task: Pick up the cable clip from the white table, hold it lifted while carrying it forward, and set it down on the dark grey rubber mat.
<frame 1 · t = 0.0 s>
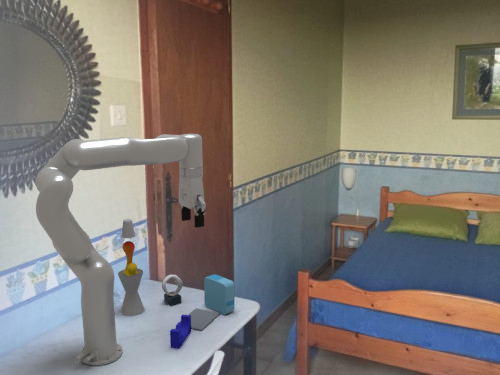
hand: (192, 223, 166), 37 cm above the table, tool pointing down, fingers open, 9 cm apart
cable clip: (179, 340, 166), on the table
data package: (219, 309, 188), on the table
lava lamp: (132, 311, 187), on the table
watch: (172, 302, 194), on the table
mat: (198, 320, 179), on the table
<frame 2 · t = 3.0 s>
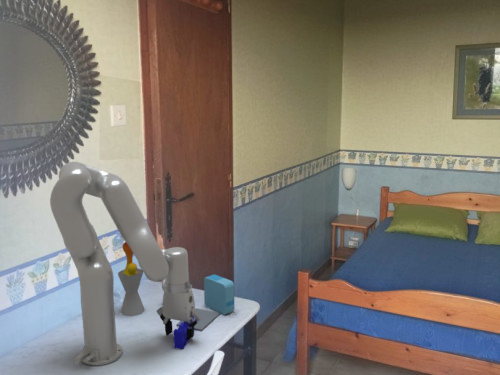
hand: (179, 335, 166), 1 cm above the table, tool pointing down, fingers open, 7 cm apart
cable clip: (182, 340, 166), on the table, touching gripper
everything else where it was.
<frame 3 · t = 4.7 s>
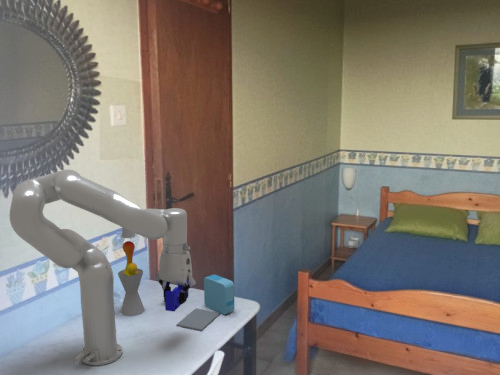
hand: (175, 300, 163), 14 cm above the table, tool pointing down, fingers closed on cable clip, 5 cm apart
cable clip: (175, 303, 163), point 13 cm above the table, touching gripper
everything else where it was.
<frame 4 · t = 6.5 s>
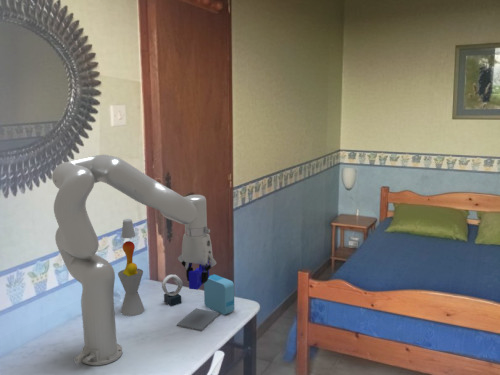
hand: (197, 280, 176), 15 cm above the table, tool pointing down, fingers closed on cable clip, 5 cm apart
cable clip: (197, 283, 176), point 14 cm above the table, touching gripper
everything else where it was.
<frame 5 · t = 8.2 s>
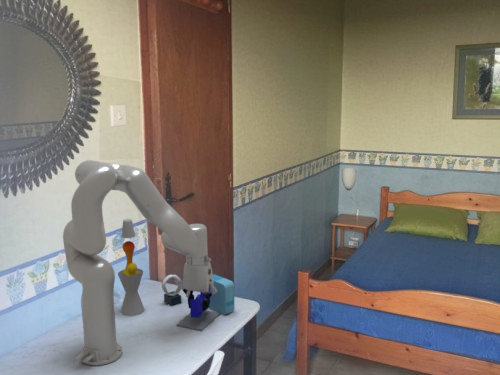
hand: (198, 307, 178), 5 cm above the table, tool pointing down, fingers closed on cable clip, 5 cm apart
cable clip: (198, 310, 179), point 4 cm above the table, touching gripper
everything else where it was.
when the fingers open (2 cm above the table, at t = 9.6 s): cable clip stays where it is, resting on mat.
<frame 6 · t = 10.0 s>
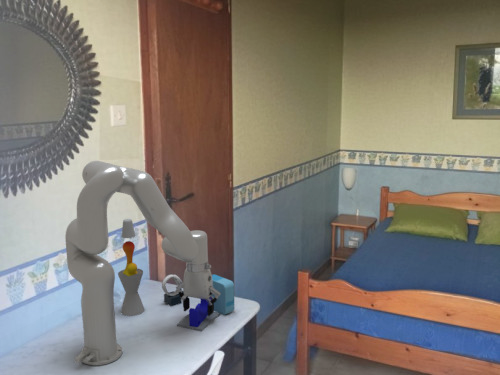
hand: (198, 311, 179), 3 cm above the table, tool pointing down, fingers open, 9 cm apart
cable clip: (198, 319, 179), resting on mat
everything else where it was.
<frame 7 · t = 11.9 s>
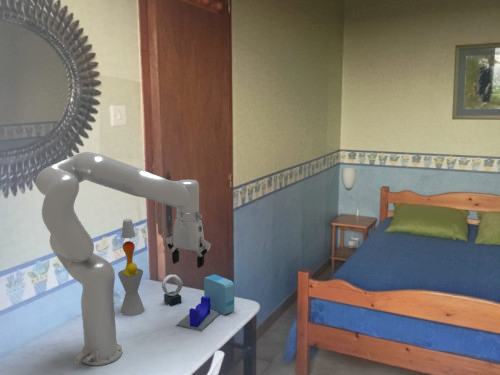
hand: (188, 264, 173), 21 cm above the table, tool pointing down, fingers open, 9 cm apart
nothing on the table moved.
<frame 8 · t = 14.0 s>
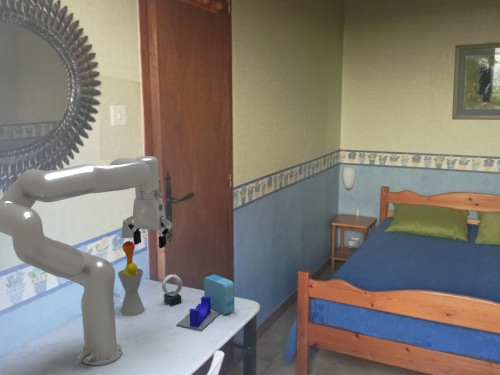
hand: (149, 245, 166), 30 cm above the table, tool pointing down, fingers open, 9 cm apart
nothing on the table moved.
at the end: cable clip inside the target area on the mat (0.4 cm from its centre), point 0.4 cm above the mat's base; the gripper is holding nothing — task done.
